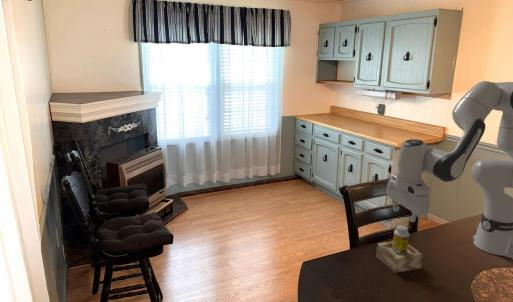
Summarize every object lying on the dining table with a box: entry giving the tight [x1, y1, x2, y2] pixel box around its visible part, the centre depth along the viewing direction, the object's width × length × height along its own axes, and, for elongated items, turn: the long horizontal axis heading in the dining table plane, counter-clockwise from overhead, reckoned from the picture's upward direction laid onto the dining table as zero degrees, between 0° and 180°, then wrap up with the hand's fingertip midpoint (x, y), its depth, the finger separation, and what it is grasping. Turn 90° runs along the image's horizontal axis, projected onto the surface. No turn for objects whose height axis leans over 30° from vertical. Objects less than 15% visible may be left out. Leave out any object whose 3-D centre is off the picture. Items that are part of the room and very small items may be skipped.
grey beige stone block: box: [375, 240, 424, 274], centre depth 141 cm, size 12×12×6 cm
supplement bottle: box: [392, 224, 410, 254], centre depth 139 cm, size 6×6×10 cm
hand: (403, 215), depth 137 cm, fingers open, 8 cm apart
